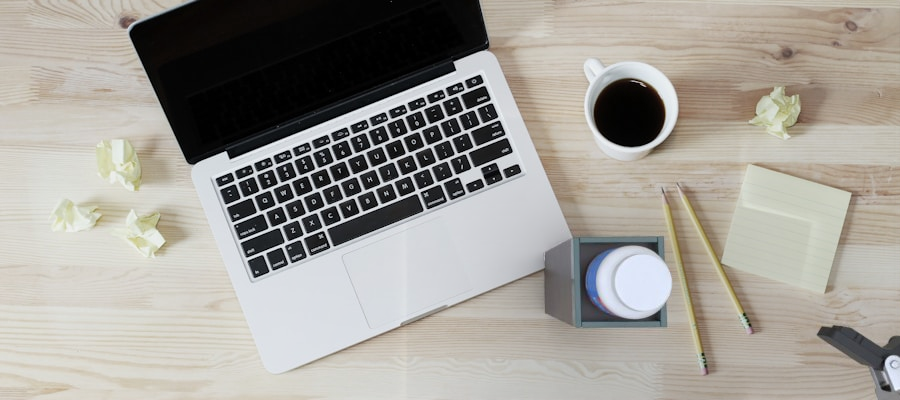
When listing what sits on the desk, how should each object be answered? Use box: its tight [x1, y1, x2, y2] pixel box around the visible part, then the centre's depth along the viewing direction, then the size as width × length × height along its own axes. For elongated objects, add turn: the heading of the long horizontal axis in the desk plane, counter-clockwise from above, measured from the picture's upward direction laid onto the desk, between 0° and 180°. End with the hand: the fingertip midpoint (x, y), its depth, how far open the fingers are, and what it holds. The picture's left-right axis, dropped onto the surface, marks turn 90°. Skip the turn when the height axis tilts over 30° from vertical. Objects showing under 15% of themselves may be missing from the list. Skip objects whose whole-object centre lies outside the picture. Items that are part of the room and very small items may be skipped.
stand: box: [543, 238, 655, 327], centre depth 74 cm, size 7×7×27 cm
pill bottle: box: [584, 246, 673, 319], centre depth 56 cm, size 6×5×10 cm
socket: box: [570, 235, 668, 329], centre depth 60 cm, size 7×7×2 cm
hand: (790, 383), depth 50 cm, fingers open, 8 cm apart
